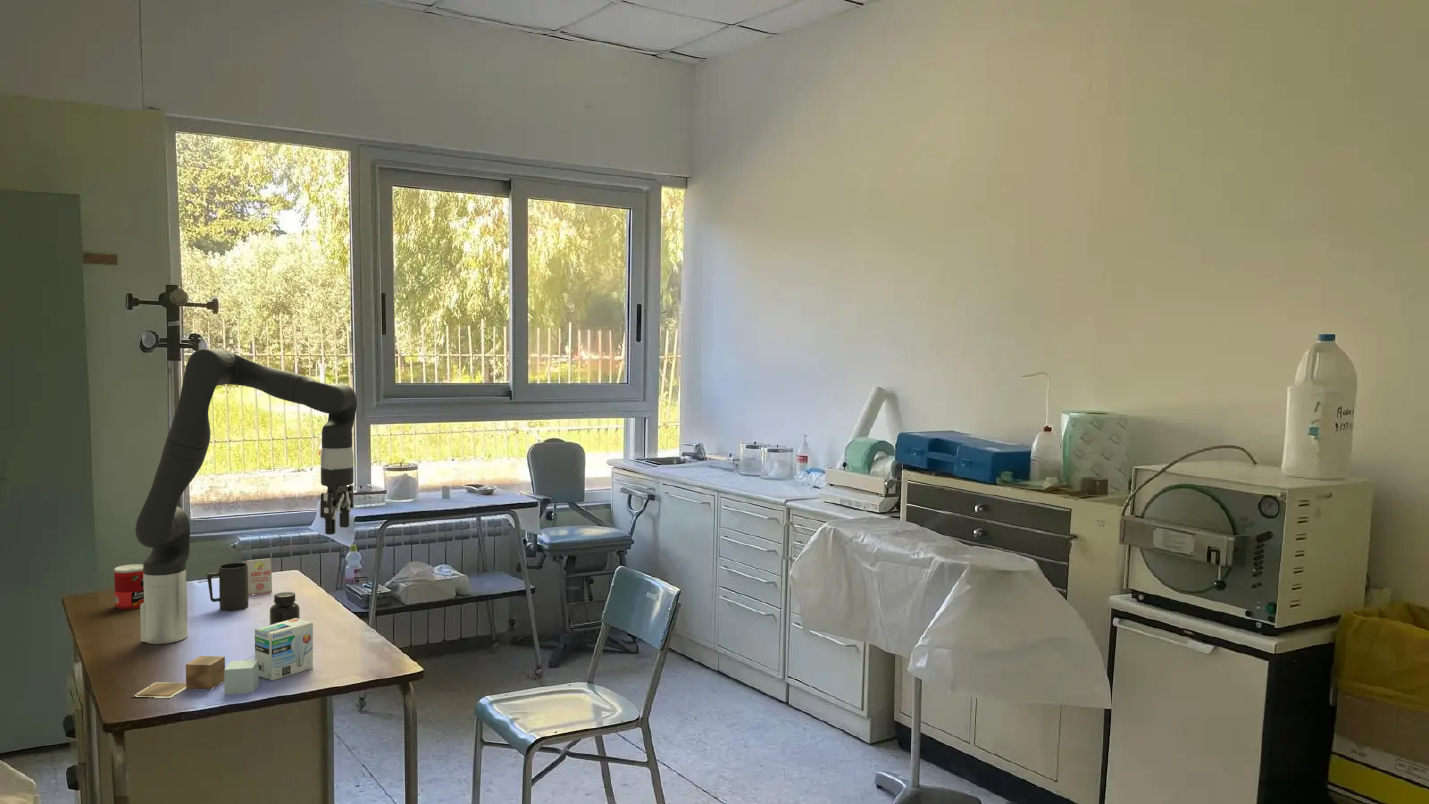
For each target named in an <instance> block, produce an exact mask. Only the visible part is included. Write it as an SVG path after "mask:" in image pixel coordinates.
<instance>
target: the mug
mask: <svg viewBox="0 0 1429 804" xmlns="http://www.w3.org/2000/svg"><path fill="white" fill-rule="evenodd" d="M213 577H218V582H219V583H218V585H219V597H217V598H215V597H213V594H214V593H213V586H212V585H213V584H212V578H213ZM206 579H207V584H208V591H209V599H210V602H212V603H216V602H219V610H220V611H222V612H236V611H242V610H246V609H247V608H248V607H249V595H248V564H246V563H245V562H230V563H225V564H221V565H219V566H218V572H208V573H206Z"/></svg>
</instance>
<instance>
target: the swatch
mask: <svg viewBox="0 0 1429 804" xmlns="http://www.w3.org/2000/svg"><path fill="white" fill-rule="evenodd" d="M149 686H150V687H149ZM149 686H148V687H146V688H143V689H142V690H140V691H139V692H137V693H136V694H137V695H135V694H134V695H135V696H136V697H150V698H149V699H152V698H151V697H154V698H153V699H168V698H169V699H173V698H174V697H176V696H177V695H178V694H180V693H181V692H184V691H185V690H187V689H186V682H162V681H161V682H160V681H159V682H157V681H155V682H153V683H151V684H150V685H149ZM175 695H176V696H175Z"/></svg>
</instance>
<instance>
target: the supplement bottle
mask: <svg viewBox="0 0 1429 804" xmlns="http://www.w3.org/2000/svg"><path fill="white" fill-rule="evenodd" d="M296 601H297V599H296V593H295V592H293V591H284V592H278V593H277V592H276V594H274V596H273V603H274V604H273V605H272V606H271V607H270V608H269V625H272V624H275V623H279V622H283V621H287V620H291V619H294V618H298V619H301V617H300V616H301V615H300V614H301V613H300V606H299V604H297V603H296Z"/></svg>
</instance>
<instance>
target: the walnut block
mask: <svg viewBox="0 0 1429 804" xmlns="http://www.w3.org/2000/svg"><path fill="white" fill-rule="evenodd" d="M225 668H226V656H221V655H220V656H219V655H217V656H215V655H214V656H213V655H212V656H211V655H200V656H198V657H196V658H195V659H193V660H191V661H189V662H188V663H186V664H185V683H186V689H185V690H200V689H212V688H213V687H215V686H216V687H218V686H219V685H220V683H221V682H222V683H224V682H223V681H224V669H225ZM222 683H221V684H222ZM218 684H219V685H218ZM216 687H215V688H216ZM213 689H214V688H213ZM213 689H212V690H213Z"/></svg>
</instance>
